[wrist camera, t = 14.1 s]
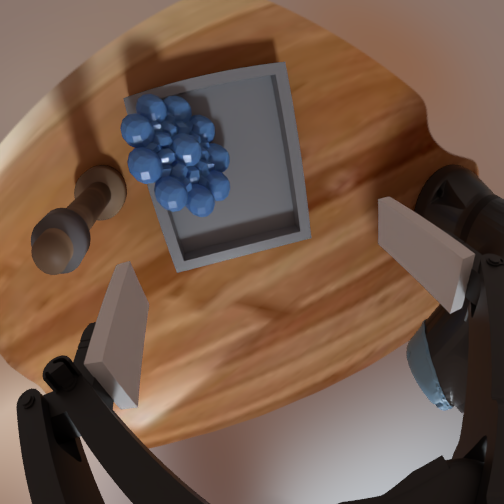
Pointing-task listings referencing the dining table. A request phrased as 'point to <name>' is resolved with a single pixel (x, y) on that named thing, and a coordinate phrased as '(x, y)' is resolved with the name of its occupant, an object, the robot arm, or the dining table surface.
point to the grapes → (176, 154)
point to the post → (77, 220)
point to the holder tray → (241, 167)
